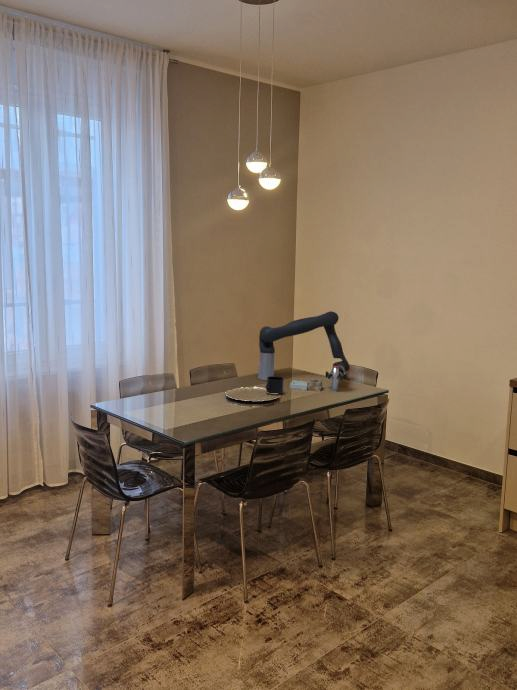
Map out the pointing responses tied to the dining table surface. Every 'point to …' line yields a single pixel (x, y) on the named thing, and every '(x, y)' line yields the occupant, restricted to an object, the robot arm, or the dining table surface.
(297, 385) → the tray
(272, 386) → the mug
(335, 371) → the cylinder
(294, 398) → the dining table surface
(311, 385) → the block
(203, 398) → the dining table surface
